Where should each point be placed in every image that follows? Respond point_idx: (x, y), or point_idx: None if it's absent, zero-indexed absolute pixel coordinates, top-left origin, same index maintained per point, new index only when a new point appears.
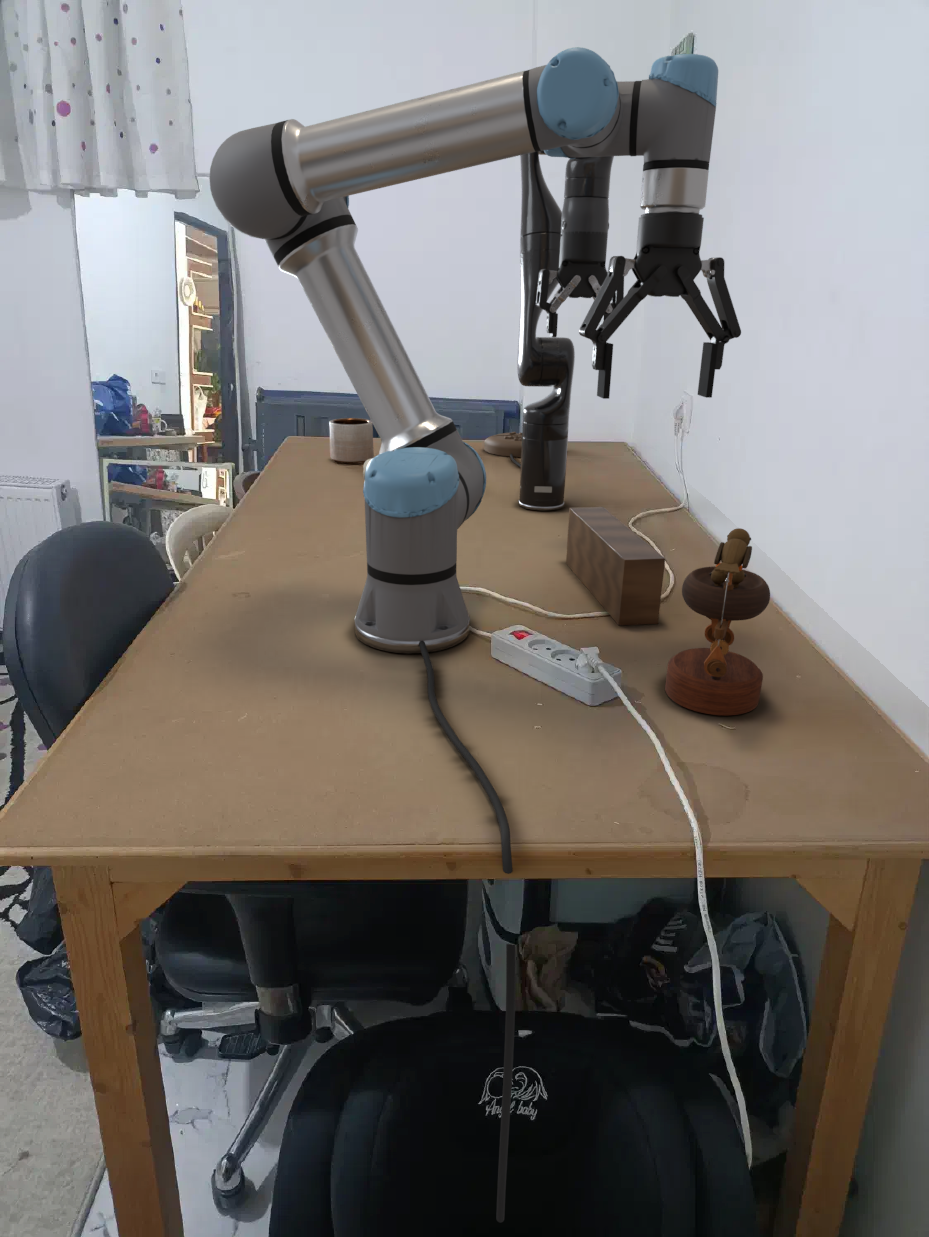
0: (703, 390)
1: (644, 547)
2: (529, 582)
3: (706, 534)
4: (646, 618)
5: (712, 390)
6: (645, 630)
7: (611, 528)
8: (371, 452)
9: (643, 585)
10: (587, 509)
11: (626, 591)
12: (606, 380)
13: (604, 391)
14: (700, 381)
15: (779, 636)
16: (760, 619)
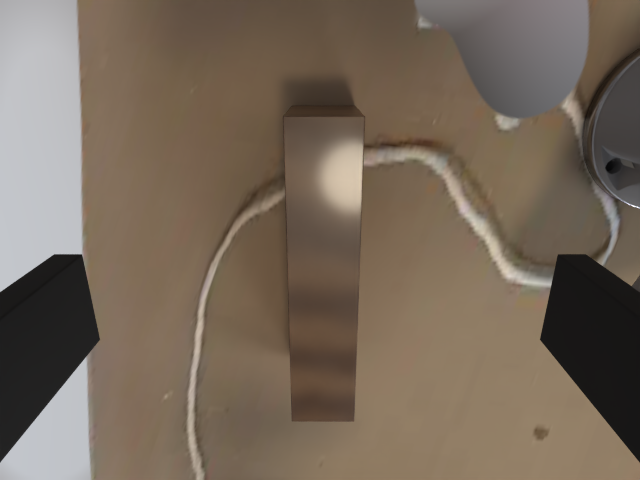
0: (75, 302)
1: (299, 186)
2: (428, 291)
3: (93, 450)
4: (311, 106)
5: (35, 268)
6: (320, 82)
7: (321, 301)
8: None
9: (321, 111)
10: (325, 409)
11: (351, 110)
12: (629, 294)
13: (603, 267)
14: (64, 363)
15: (116, 29)
16: (123, 103)
